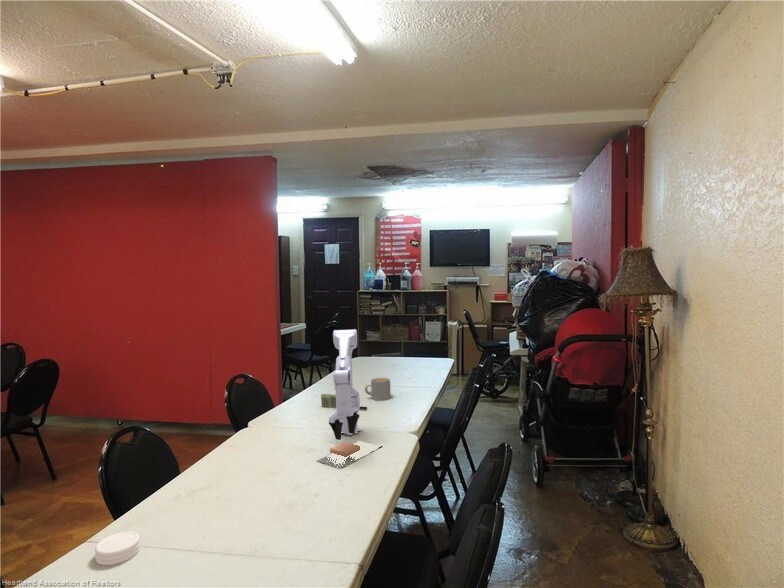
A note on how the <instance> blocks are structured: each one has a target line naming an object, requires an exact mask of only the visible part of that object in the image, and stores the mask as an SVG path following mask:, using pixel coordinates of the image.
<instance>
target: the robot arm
mask: <svg viewBox="0 0 784 588" xmlns="http://www.w3.org/2000/svg"><path fill="white" fill-rule="evenodd" d="M357 331H358V330H357V329H356V328H354V329H334V330H333V332H332V340H333V344H334V347H335V349H336V350H338V353H339V355H338V356H337V357H336V359H335V370H334V371H333V376H332V377H333V385H334V391H335V395H336V408H335V410H336V412H335V413H333V414H332V415H331V416H329V417H328V424H329V426H330V427H331V429H332V431H333V434H334V436H335V439H336V440H338V441H341V439H342V434H341V432H343V433H345V434H348V435H347V436H349V435H351V436H353V435H355V434H357V433H359V432H358V431H360V432H361V430H362V431H363V429H362V428H359V425H358V421H359V418H360V414H359V411H360V410H361V409H360V406H361V400H360V398H361V397H360V393H359V390H357V389H356V388H354V386H353V385H354V384H353V358H352V357H353V356H352V354H353V351H354V349H356V348H357V347H358V332H357ZM356 432H357V433H356ZM354 433H355V434H354ZM345 434H344V435H345ZM352 434H353V435H352Z"/></svg>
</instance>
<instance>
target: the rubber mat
mask: <svg viewBox="0 0 784 588" xmlns="http://www.w3.org/2000/svg"><path fill="white" fill-rule="evenodd" d="M327 456H328V455H326V456H324V457H322V458H320V459H318V460H316V462H317V463H319V462H320V464H323V463H325V464H324V465H326V464H328V465H327V466H329V465H331V466H330V467H333V466H334V465H335V464H334V463H333V462H331V461H332V459H331V461H330V458H331V457H330V458H329V457H328V458H329V460H328V458H327ZM354 458H355V457H354ZM354 458H353V459H352V457H351V458H350V456H349V457H348V458H347V459H346V461H345V460H344V461H345V464H343V463H344V462H343V463H342V465H343V466H342V465H341V464H340V463H339V465H340V466H339V465H338V464H336V465H335V467H334V468H336V467H337V466H338V468H337V469H339V468H342V469H344V468H345V466H346V465H348V464H350V463H351V464H353V463H355V462H357V461H356V460H355V459H354ZM336 460H337V459H336ZM351 460H352V461H351ZM354 460H355V462H354ZM327 461H328V462H327ZM329 461H330V462H329ZM333 461H334V460H333ZM352 462H353V463H352ZM335 463H336V461H335ZM351 464H350V465H351ZM348 466H349V465H348ZM343 467H344V468H343ZM346 467H347V466H346Z"/></svg>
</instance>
